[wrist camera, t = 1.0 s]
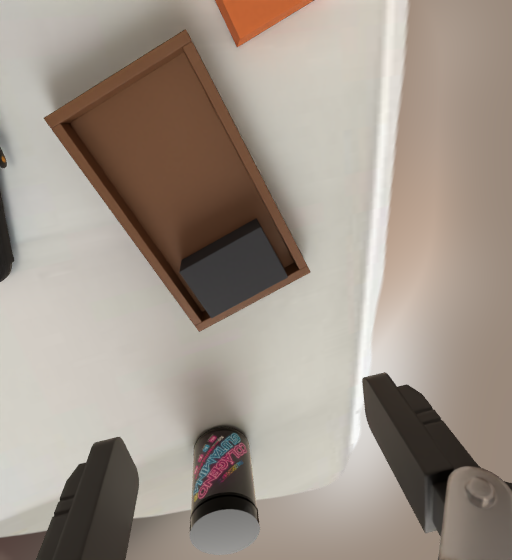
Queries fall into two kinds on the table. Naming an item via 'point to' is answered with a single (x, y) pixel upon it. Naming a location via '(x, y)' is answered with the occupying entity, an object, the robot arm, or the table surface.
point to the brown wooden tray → (172, 166)
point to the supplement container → (223, 493)
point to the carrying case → (4, 236)
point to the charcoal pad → (232, 269)
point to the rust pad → (255, 15)
